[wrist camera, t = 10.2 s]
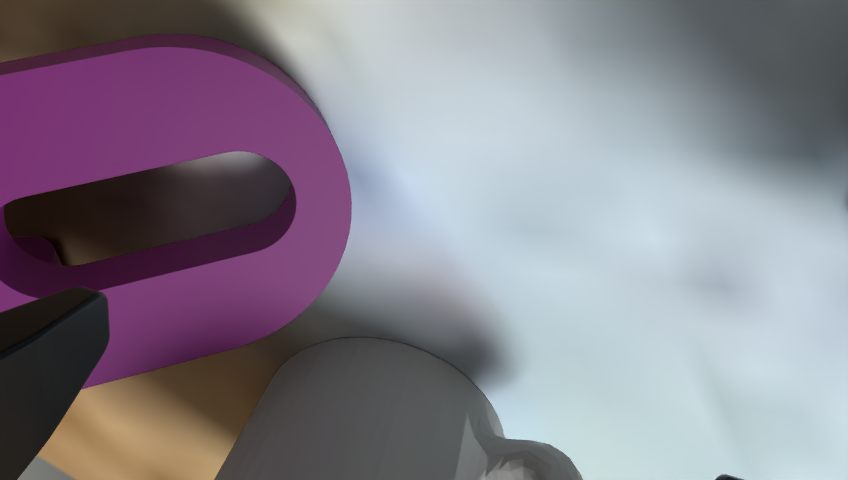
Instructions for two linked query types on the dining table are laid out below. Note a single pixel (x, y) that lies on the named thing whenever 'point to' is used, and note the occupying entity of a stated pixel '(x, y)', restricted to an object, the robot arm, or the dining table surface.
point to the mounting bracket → (159, 146)
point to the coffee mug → (381, 422)
